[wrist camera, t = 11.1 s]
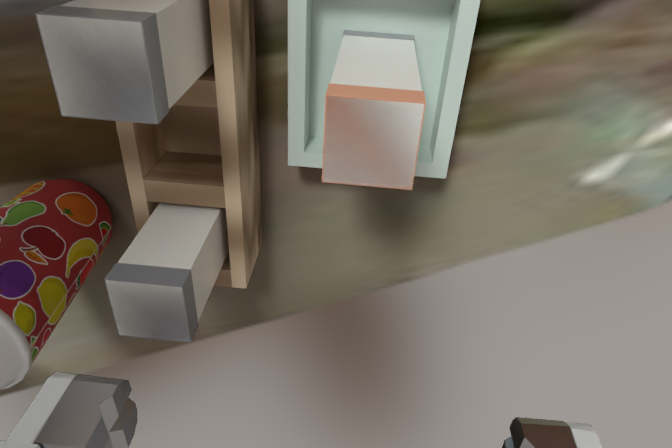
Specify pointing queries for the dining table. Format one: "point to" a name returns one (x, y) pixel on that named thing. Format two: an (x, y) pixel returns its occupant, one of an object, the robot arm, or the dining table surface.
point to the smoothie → (44, 264)
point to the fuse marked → (373, 112)
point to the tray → (384, 17)
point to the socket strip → (208, 144)
